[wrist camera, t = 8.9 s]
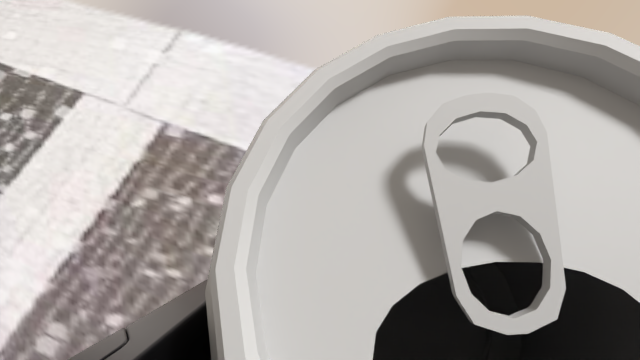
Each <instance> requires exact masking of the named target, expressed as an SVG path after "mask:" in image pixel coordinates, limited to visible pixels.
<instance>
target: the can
mask: <svg viewBox="0 0 640 360" xmlns="http://www.w3.org/2000/svg"><path fill="white" fill-rule="evenodd" d="M205 297H206V308H207V319H208V330H209V341H210V352H211V360H640V46H638V45H636V44H633V43H631V42H629V41H627V40H625V39H622V38H620V37H618V36H616V35H614V34H611V33H607V32H602V31H598V30H592V29H588V28H583V27H578V26H574V25H569V24H564V23H560V22H555V21H550V20H545V19H541V18H536V17H531V16H473V17H446V18H442V19H438V20H434V21H430V22H427V23H423V24H419V25H415V26H411V27H407V28H403V29H399V30H396V31H391V32H388V33H384V34H380V35H377V36H375V37H373V38H372V39H369V40H368V41H366V42H364V43H363V44H360V45H359V46H357V47H355V48H353V49H351V50H350V51H348V52H346V53H344V54H342V55H341V56H339V57H337V58H335V59H333V60H332V61H330V62H328V63H326V64H324V65H323V66H321V67H319V68H317V69H315V70H314V71H313V72H312V73H311V74H310V75H309V76H308V77H307V78H306V79H305V80H304V81H303V82H302V83H301V84H300V85H299V86H298V87H297V88H296V89H295V90H294V91H293V92H292V93H291V94H290V95H289V96H288V97H287V98H286V99H285V100H284V101H283V102H282V103H281V104H280V105H279V106H278V107H277V108H276V109H275V110H273V111H272V112H271V113H270V114H269V115H268V116H267V117H266V118H265V119H264V120H263V122H262V124H261V126H260V127H259V129H258V131H257V133H256V135H255V137H254V138H253V140H252V142H251V144H250V146H249V148H248V149H247V151H246V153H245V155H244V157H243V159H242V160H241V162H240V164H239V166H238V168H237V170H236V171H235V173H234V175H233V177H232V179H231V181H230V182H229V184H228V186H227V188H226V192H225V197H224V202H223V207H222V212H221V216H220V221H219V226H218V231H217V236H216V241H215V246H214V250H213V255H212V260H211V265H210V270H209V275H208V280H207V285H206V290H205Z"/></svg>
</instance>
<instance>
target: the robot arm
mask: <svg viewBox="0 0 640 360" xmlns="http://www.w3.org/2000/svg"><path fill="white" fill-rule="evenodd" d="M207 280H208V279H207ZM207 280H205V281H204V282H202V283H200V284H199V285H197V286H195V287H193V288H192V289H190V290H188V291H187V292H185V293H183V294H181V295H180V296H178V297H176V298H175V299H173V300H171V301H169V302H168V303H166V304H164V305H163V306H161V307H159V308H157V309H156V310H154V311H152V312H151V313H149V314H147V315H145V316H144V317H142V318H140V319H139V320H137V321H135V322H133V323H132V324H130V325H128V326H127V327H126V329H125V328H122V329H120V330H118V331H117V332H115V333H113V334H112V335H110V336H108V337H106V338H105V339H103V340H101V341H99V342H98V343H96V344H94V345H92V346H91V347H89V348H87V349H85V350H84V351H82V352H80V353H78V354H76V355H75V356H73V357H71V358H69V359H67V360H211V352H210V341H209V330H208V319H207V308H206V297H205V290H206V285H207Z"/></svg>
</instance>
